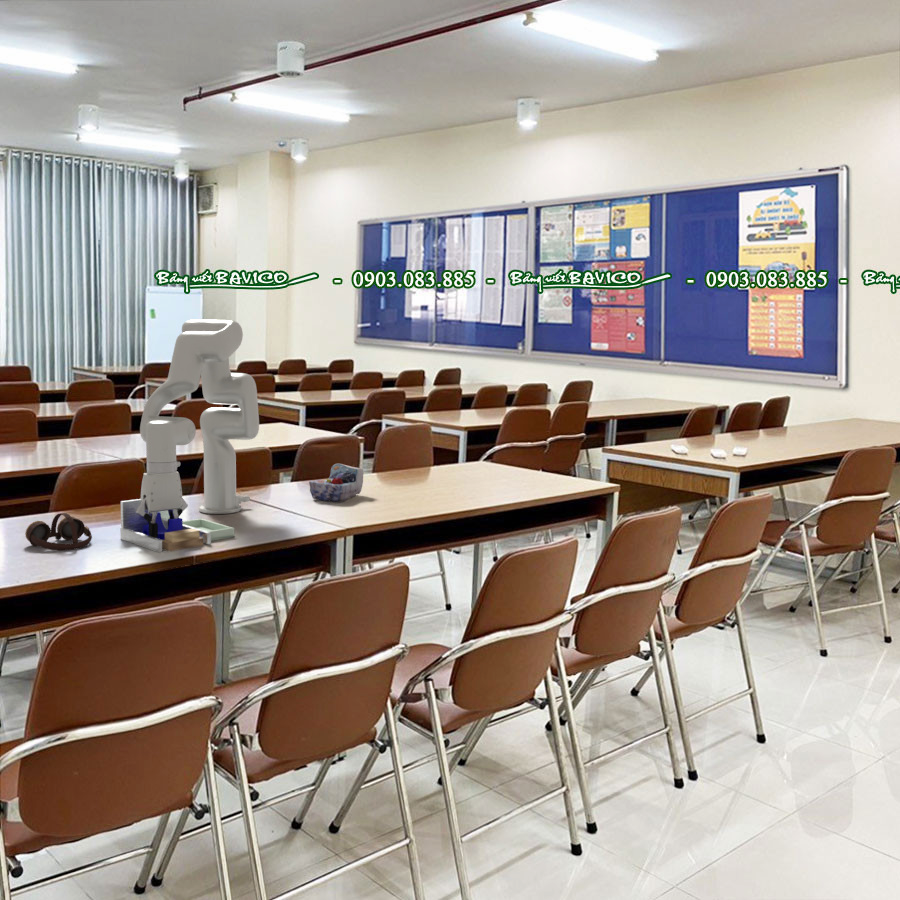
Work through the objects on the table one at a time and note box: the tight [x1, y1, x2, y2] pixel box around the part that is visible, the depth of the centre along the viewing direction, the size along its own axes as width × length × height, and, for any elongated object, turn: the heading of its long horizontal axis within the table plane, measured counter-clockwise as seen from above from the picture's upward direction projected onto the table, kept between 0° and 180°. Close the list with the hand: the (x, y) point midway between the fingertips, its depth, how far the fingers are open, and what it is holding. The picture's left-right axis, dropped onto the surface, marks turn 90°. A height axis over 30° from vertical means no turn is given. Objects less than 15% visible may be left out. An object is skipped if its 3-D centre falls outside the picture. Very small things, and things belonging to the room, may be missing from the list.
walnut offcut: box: [161, 537, 204, 552], centre depth 263 cm, size 10×4×2 cm, turn 135°
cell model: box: [308, 463, 364, 503], centre depth 337 cm, size 13×11×20 cm
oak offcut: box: [165, 529, 199, 543], centre depth 263 cm, size 8×4×2 cm, turn 137°
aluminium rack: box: [120, 498, 212, 553], centre depth 268 cm, size 15×21×10 cm
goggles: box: [24, 512, 93, 552], centre depth 261 cm, size 15×13×10 cm
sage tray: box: [182, 518, 235, 542], centre depth 278 cm, size 9×17×2 cm, turn 45°
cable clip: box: [143, 512, 183, 540], centre depth 270 cm, size 12×4×6 cm, turn 47°
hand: (163, 535), depth 270 cm, fingers closed on cable clip, 4 cm apart
